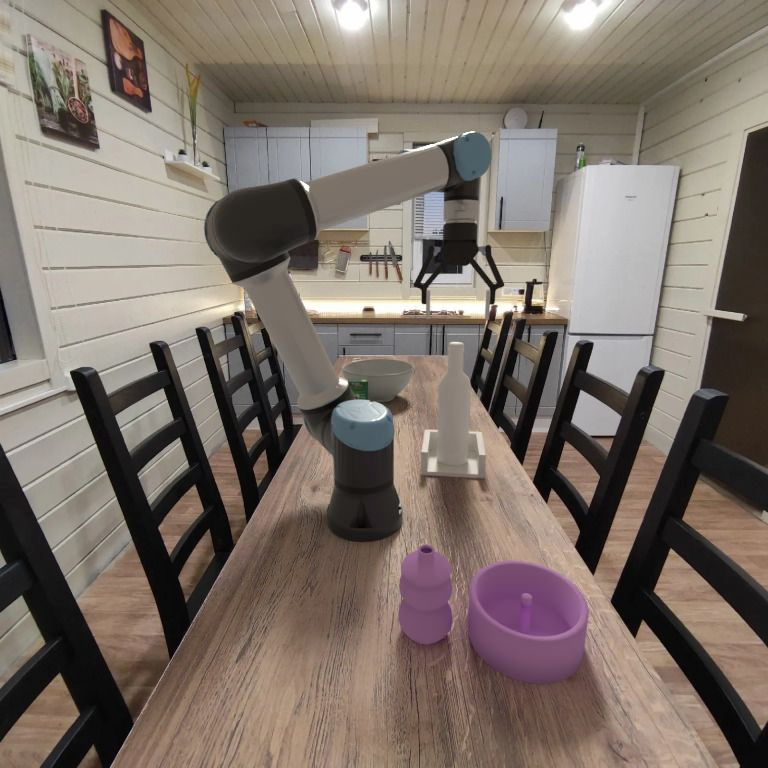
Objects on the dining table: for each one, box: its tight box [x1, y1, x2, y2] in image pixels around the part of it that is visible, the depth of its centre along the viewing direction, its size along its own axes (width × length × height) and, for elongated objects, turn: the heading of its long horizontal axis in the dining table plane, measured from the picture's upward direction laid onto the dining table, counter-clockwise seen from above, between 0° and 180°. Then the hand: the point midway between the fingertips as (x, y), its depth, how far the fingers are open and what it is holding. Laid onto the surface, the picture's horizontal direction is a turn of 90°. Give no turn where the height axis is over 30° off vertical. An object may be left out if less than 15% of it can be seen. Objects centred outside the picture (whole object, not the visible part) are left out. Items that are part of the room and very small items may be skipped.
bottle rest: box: [420, 429, 486, 480], centre depth 116 cm, size 15×15×6 cm
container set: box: [397, 544, 590, 685], centre depth 62 cm, size 25×15×13 cm, turn 86°
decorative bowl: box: [341, 358, 415, 403], centre depth 171 cm, size 27×27×12 cm
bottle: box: [437, 341, 472, 466], centre depth 112 cm, size 8×8×30 cm
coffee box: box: [347, 380, 368, 400], centre depth 148 cm, size 8×3×13 cm, turn 99°
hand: (457, 318), depth 107 cm, fingers open, 13 cm apart
